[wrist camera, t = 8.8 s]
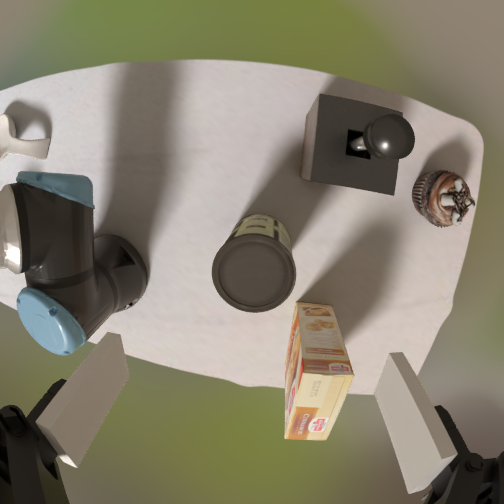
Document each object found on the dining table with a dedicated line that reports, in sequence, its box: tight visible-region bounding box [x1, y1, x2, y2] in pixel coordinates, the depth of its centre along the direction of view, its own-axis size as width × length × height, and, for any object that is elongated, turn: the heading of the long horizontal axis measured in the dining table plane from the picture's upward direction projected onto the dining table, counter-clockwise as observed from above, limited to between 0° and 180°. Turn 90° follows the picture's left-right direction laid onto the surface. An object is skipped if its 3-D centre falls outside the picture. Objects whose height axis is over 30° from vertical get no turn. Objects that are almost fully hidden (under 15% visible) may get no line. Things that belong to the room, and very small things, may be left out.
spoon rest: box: [0, 113, 50, 160], centre depth 42 cm, size 24×12×7 cm, turn 71°
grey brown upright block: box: [300, 94, 403, 196], centre depth 35 cm, size 10×10×15 cm
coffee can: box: [212, 214, 296, 313], centre depth 41 cm, size 10×10×14 cm
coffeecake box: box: [284, 302, 354, 440], centre depth 43 cm, size 15×7×20 cm, turn 175°
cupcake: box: [412, 170, 475, 228], centre depth 38 cm, size 10×10×10 cm
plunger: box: [345, 114, 415, 159], centre depth 28 cm, size 7×7×20 cm
